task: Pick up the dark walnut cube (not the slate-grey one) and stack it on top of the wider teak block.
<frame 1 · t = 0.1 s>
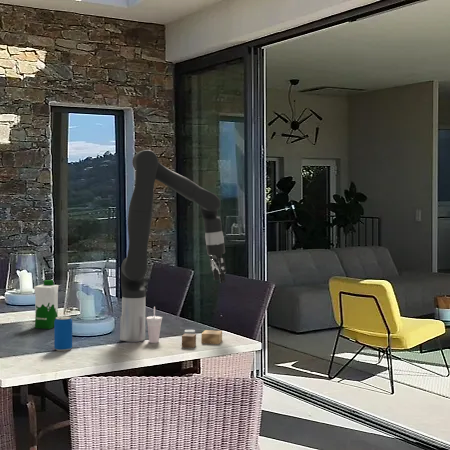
hand: (219, 281, 276), 22 cm above the table, tool pointing down, fingers open, 8 cm apart
smoothie: (153, 342, 262), on the table
walnut cube: (188, 346, 256), on the table
teak block: (211, 342, 265), on the table
milk carton: (46, 327, 288), on the table
beverage can: (63, 350, 248), on the table
slate-grey cube: (189, 340, 266), on the table
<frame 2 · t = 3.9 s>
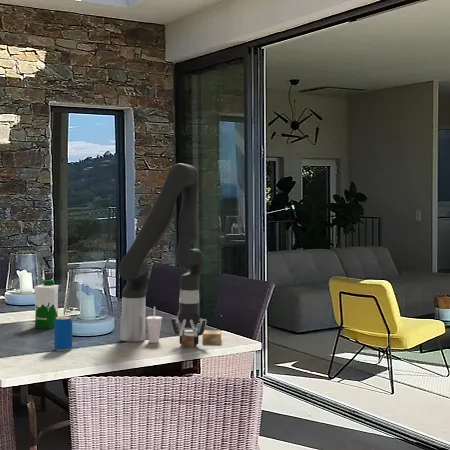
hand: (188, 345, 256), 0 cm above the table, tool pointing down, fingers closed on walnut cube, 4 cm apart
walnut cube: (188, 346, 256), on the table, touching gripper
everything else where it was.
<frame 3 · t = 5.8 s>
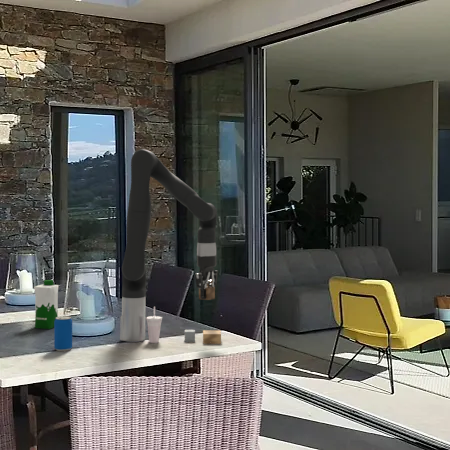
hand: (206, 297, 261), 18 cm above the table, tool pointing down, fingers closed on walnut cube, 4 cm apart
walnut cube: (206, 298, 261), point 17 cm above the table, touching gripper
everything else where it was.
when the fingers open (5 cm above the table, at t = 7.9 s): walnut cube drops 1 cm, point 4 cm above the table.
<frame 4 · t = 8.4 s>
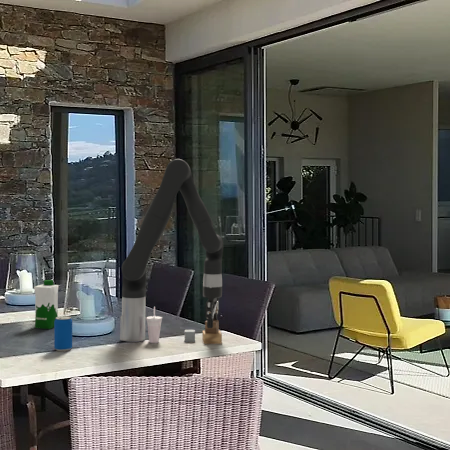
hand: (212, 325, 264), 6 cm above the table, tool pointing down, fingers open, 8 cm apart
walnut cube: (211, 332, 265), point 4 cm above the table
everything else where it was.
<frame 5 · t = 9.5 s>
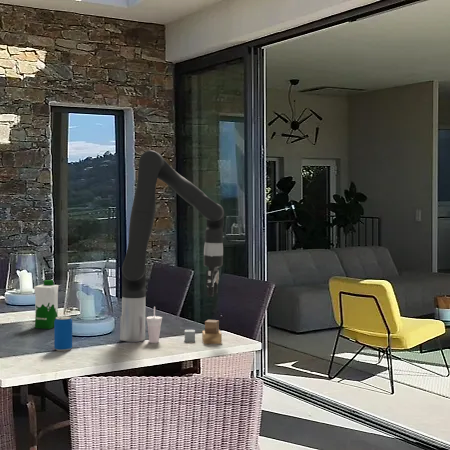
hand: (212, 295, 264), 19 cm above the table, tool pointing down, fingers open, 8 cm apart
walnut cube: (211, 332, 264), point 4 cm above the table, touching teak block
teak block: (211, 342, 265), on the table, touching walnut cube
everything else where it was.
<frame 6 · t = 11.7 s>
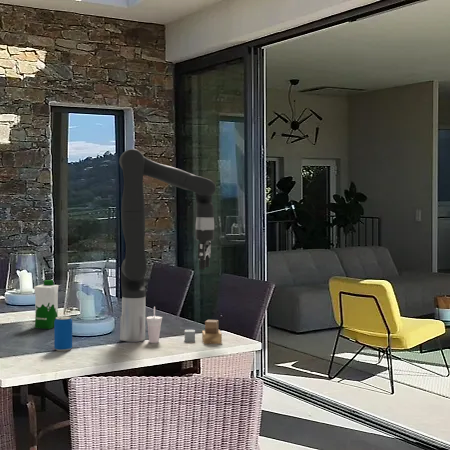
hand: (204, 268, 272), 28 cm above the table, tool pointing down, fingers open, 8 cm apart
nothing on the table moved.
at the end: walnut cube 0.1 cm off-centre on the teak block, point 4.0 cm above the teak block's base; walnut cube tilted 0°; the gripper is holding nothing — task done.
